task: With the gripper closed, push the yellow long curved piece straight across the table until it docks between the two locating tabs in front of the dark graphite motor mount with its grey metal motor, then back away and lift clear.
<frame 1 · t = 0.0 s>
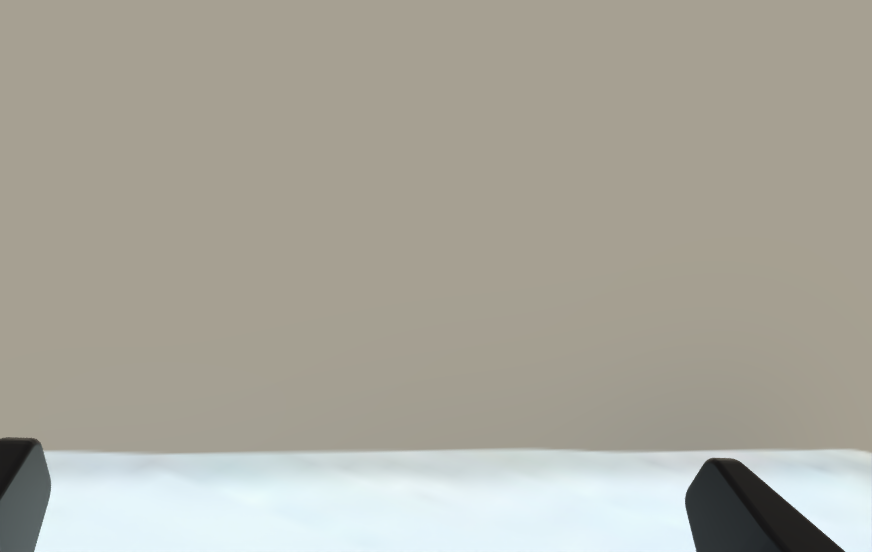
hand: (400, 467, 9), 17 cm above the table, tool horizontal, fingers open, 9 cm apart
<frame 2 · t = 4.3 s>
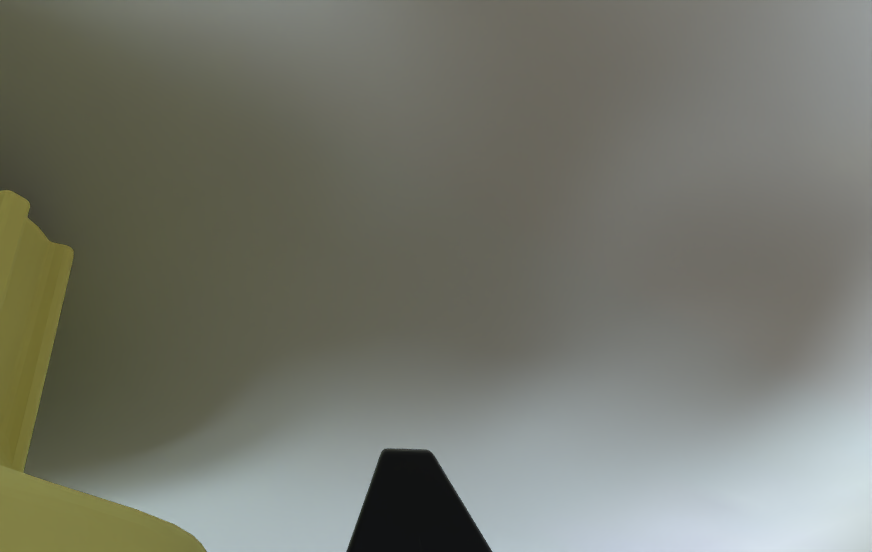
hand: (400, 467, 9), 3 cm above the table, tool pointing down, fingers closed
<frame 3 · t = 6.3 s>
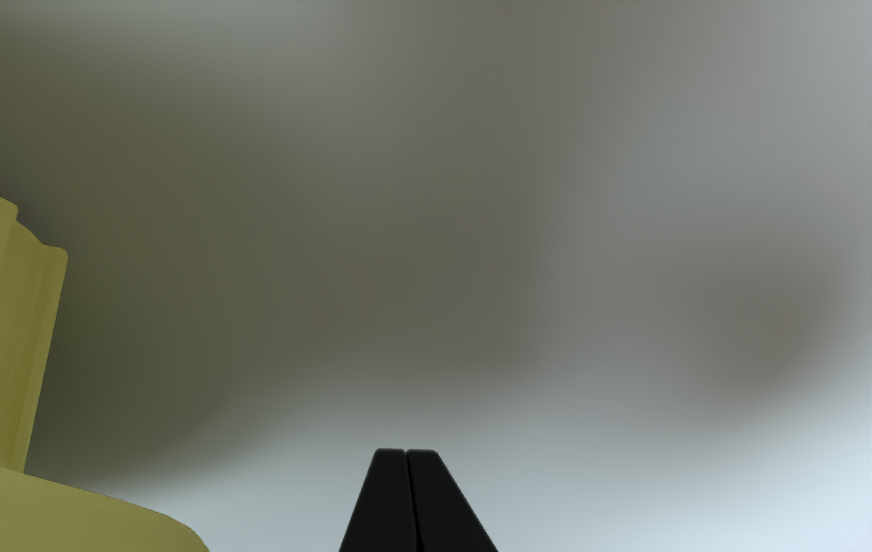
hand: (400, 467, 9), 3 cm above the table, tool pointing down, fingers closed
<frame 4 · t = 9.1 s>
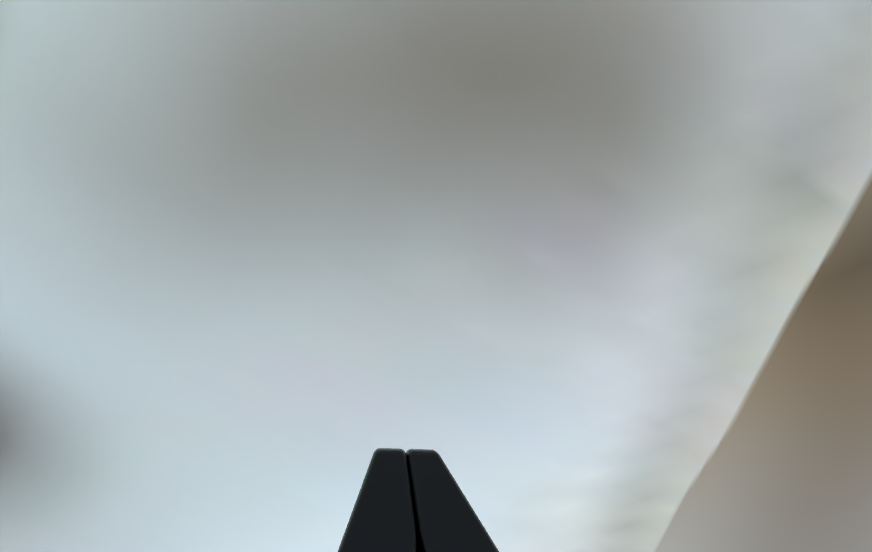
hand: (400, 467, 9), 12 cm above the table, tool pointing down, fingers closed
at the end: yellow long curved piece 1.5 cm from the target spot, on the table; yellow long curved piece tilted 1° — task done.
